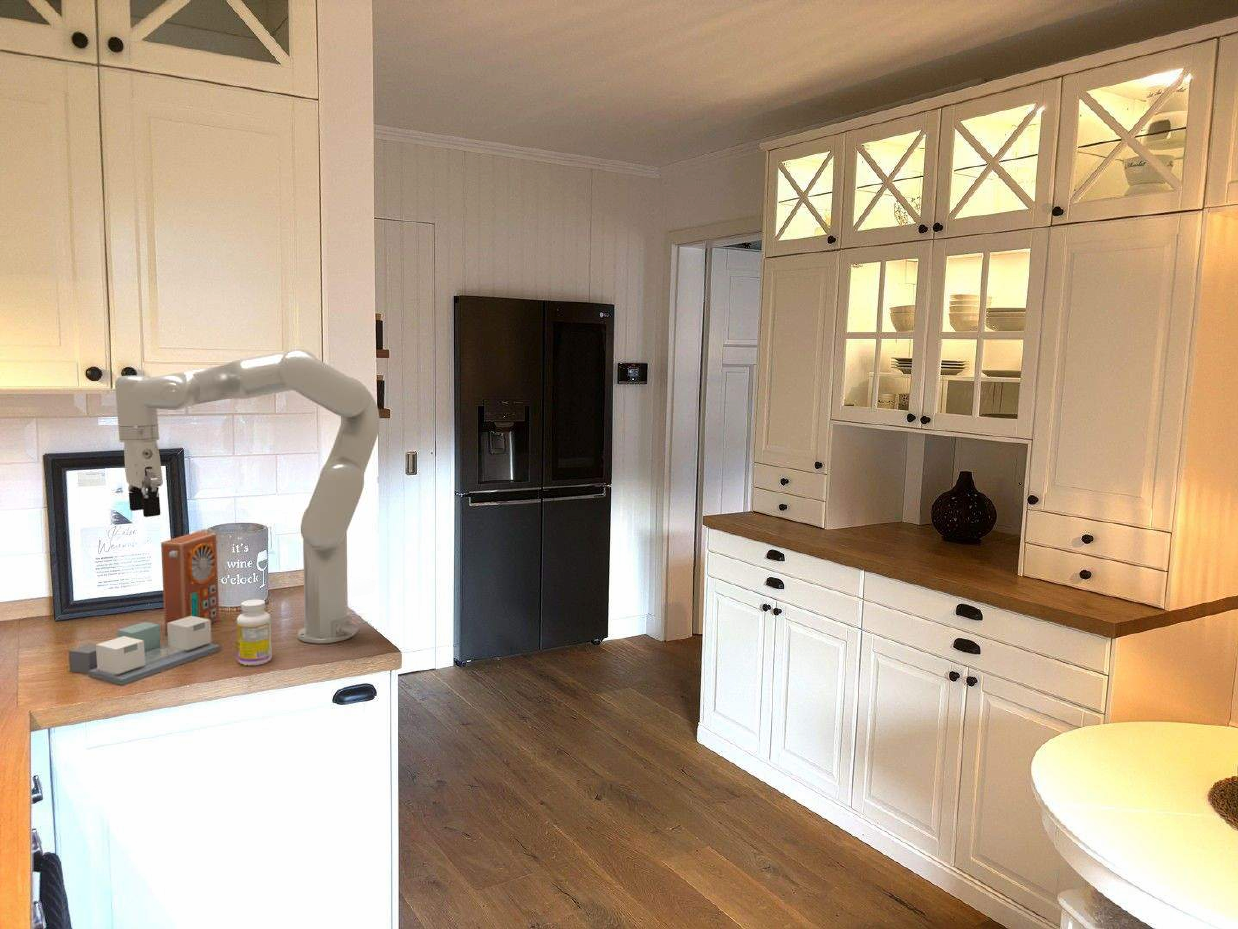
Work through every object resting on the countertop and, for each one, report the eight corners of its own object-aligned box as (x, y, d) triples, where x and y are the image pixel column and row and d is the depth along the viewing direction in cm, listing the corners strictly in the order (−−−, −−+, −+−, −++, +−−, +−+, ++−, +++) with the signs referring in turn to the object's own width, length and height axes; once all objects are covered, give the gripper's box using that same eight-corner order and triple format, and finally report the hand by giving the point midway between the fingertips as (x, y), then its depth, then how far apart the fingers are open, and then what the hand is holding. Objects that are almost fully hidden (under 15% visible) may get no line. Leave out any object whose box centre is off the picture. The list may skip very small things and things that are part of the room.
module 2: (160, 651, 193) (159, 625, 193) (133, 660, 188) (131, 633, 187) (146, 648, 195) (145, 621, 194) (119, 657, 189) (117, 630, 189)
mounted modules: (211, 642, 195) (210, 619, 194) (117, 674, 175) (116, 649, 174) (191, 637, 197) (190, 615, 197) (97, 668, 177) (95, 644, 177)
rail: (208, 644, 195) (208, 641, 195) (114, 676, 175) (114, 673, 175) (194, 641, 197) (194, 638, 197) (100, 672, 177) (99, 669, 177)
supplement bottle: (244, 655, 192) (242, 597, 190) (276, 655, 192) (274, 597, 191) (233, 666, 185) (231, 606, 184) (265, 666, 186) (264, 606, 184)
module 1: (110, 666, 184) (108, 645, 184) (89, 674, 179) (88, 653, 179) (90, 663, 185) (89, 642, 185) (69, 672, 181) (68, 650, 180)
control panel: (225, 618, 217) (184, 637, 203) (200, 616, 219) (157, 634, 204) (222, 532, 215) (180, 545, 200) (196, 530, 216) (153, 543, 201)
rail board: (220, 650, 194) (219, 645, 194) (122, 685, 174) (122, 679, 174) (187, 643, 199) (187, 638, 198) (88, 676, 178) (88, 670, 178)
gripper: (171, 435, 186) (176, 516, 188) (145, 429, 198) (151, 505, 201) (131, 438, 181) (137, 521, 183) (108, 432, 193) (114, 509, 196)
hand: (145, 512), depth 192 cm, fingers open, 9 cm apart
